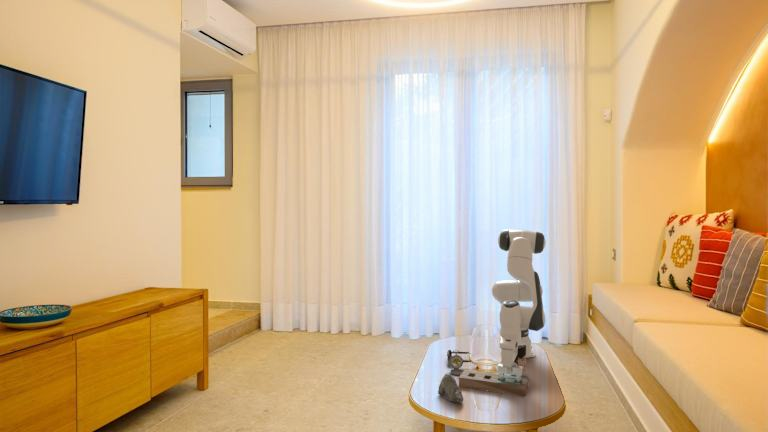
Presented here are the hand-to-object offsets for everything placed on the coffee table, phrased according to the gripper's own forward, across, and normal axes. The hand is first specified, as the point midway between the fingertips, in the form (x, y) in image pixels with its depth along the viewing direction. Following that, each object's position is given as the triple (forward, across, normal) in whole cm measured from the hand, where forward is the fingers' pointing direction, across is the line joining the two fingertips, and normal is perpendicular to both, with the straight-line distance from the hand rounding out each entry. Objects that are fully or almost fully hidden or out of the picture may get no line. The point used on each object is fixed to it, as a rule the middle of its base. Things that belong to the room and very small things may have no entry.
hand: (510, 371), depth 211 cm
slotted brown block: (+8, 0, -7) cm, 11 cm away
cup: (+8, -19, +1) cm, 21 cm away
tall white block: (+6, 0, 0) cm, 6 cm away
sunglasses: (+8, -27, -27) cm, 39 cm away
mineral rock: (+8, +20, -21) cm, 30 cm away
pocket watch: (+8, -12, -26) cm, 30 cm away
